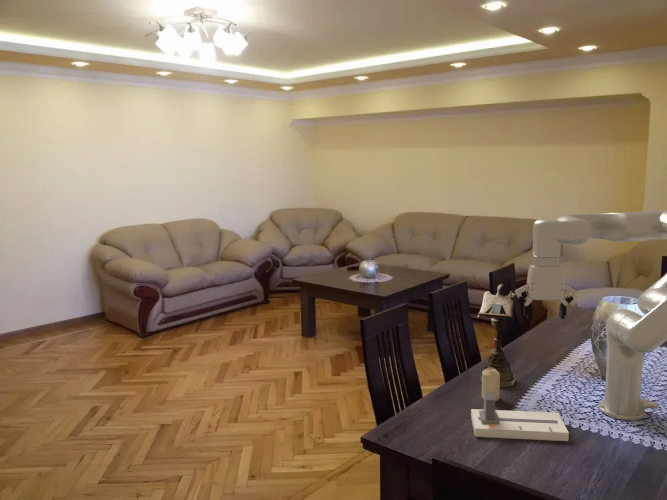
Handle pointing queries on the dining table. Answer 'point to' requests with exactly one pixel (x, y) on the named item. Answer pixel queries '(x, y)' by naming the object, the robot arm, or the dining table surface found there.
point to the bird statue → (499, 332)
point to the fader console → (521, 425)
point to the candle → (491, 382)
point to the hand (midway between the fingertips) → (544, 317)
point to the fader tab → (489, 409)
